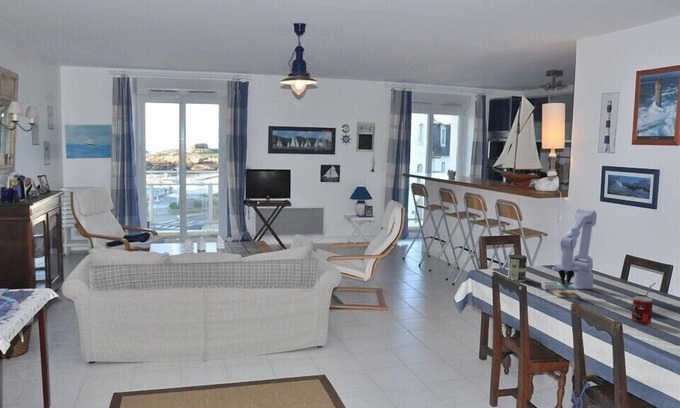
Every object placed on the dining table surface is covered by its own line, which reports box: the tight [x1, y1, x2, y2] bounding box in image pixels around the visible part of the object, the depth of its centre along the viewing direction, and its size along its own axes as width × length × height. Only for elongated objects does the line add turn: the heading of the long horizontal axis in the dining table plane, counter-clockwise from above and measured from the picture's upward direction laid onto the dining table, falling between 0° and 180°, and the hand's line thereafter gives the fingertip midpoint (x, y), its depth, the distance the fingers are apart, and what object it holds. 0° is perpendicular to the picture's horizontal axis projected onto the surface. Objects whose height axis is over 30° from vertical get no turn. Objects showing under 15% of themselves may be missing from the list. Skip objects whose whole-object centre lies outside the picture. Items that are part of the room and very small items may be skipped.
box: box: [540, 280, 562, 291], centre depth 315 cm, size 9×6×3 cm, turn 89°
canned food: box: [631, 295, 654, 325], centre depth 260 cm, size 8×8×11 cm
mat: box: [549, 290, 581, 299], centre depth 303 cm, size 12×12×1 cm
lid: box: [554, 279, 577, 291], centre depth 303 cm, size 10×7×4 cm
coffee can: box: [507, 254, 528, 283], centre depth 333 cm, size 10×10×14 cm
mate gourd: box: [635, 282, 657, 298], centre depth 274 cm, size 8×8×15 cm
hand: (565, 284), depth 303 cm, fingers closed on lid, 2 cm apart
